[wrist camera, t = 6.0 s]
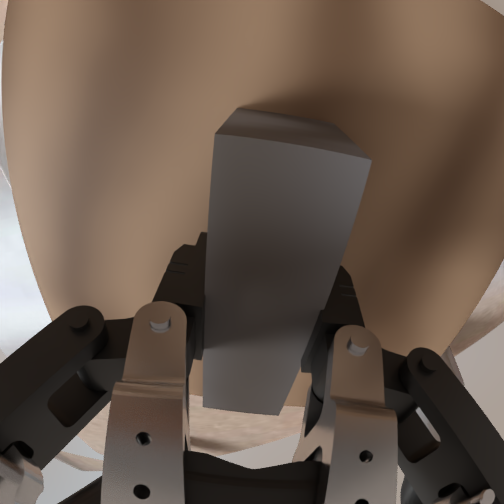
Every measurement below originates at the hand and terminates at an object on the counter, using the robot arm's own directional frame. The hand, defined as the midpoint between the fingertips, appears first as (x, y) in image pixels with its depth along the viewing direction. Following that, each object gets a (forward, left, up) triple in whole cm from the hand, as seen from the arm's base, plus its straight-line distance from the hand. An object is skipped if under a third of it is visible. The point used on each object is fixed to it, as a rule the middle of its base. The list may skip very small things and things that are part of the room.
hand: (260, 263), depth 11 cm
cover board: (0, 0, -2) cm, 2 cm away
